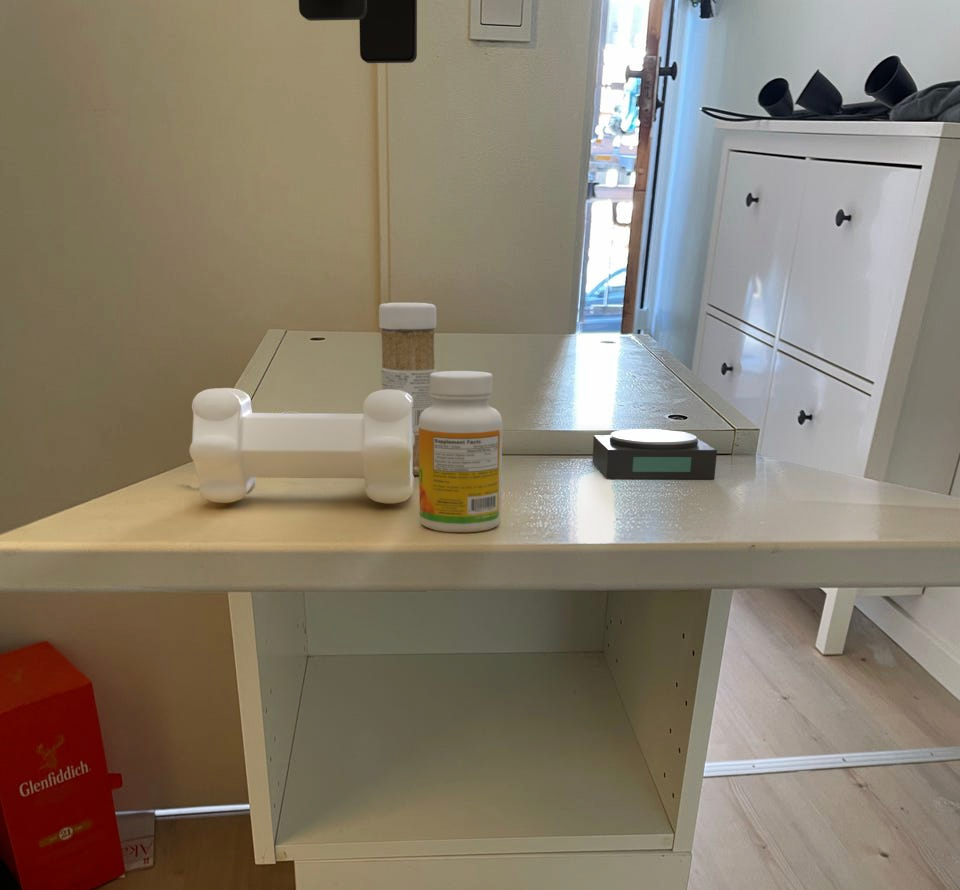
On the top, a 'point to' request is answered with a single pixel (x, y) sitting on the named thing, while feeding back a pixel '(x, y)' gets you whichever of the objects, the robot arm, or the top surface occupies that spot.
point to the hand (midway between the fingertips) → (363, 42)
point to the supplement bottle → (460, 454)
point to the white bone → (301, 445)
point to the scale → (653, 455)
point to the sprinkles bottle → (409, 356)
